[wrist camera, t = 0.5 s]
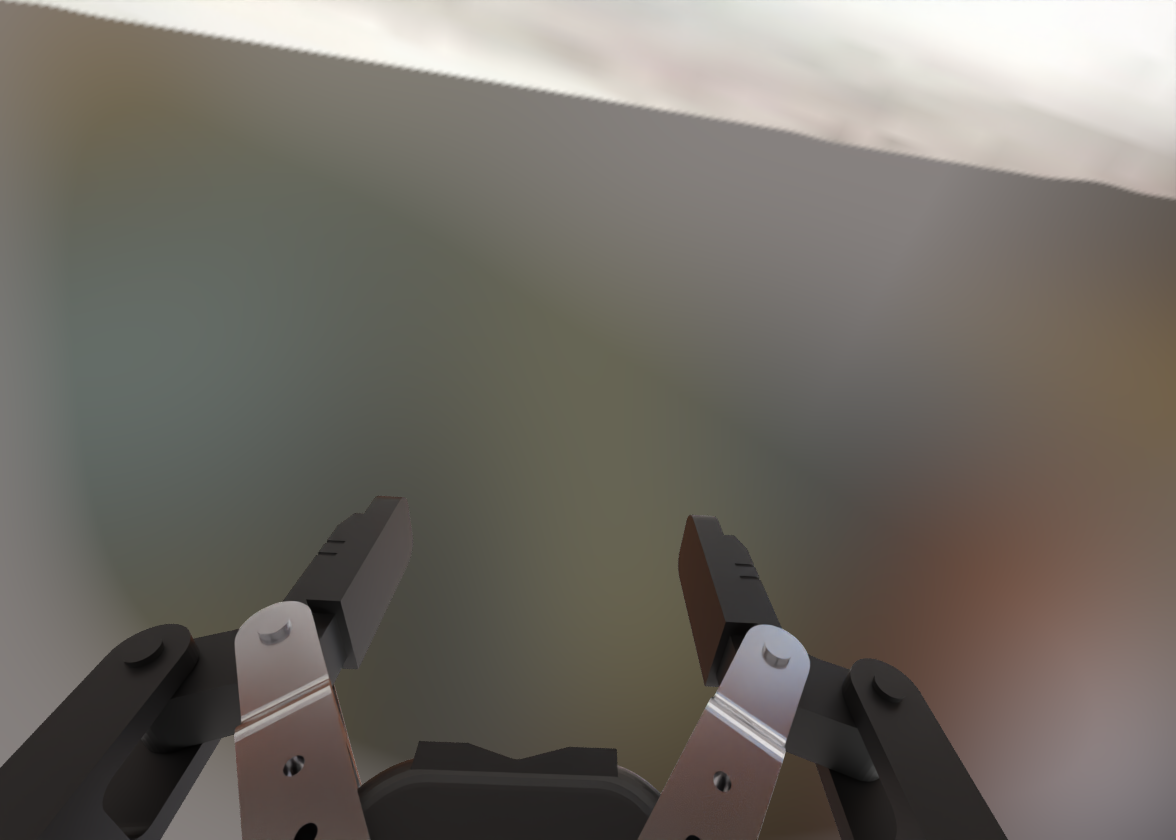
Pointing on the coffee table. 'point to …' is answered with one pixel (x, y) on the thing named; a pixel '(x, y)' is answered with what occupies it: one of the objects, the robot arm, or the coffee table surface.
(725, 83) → the coffee table surface
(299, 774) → the robot arm
